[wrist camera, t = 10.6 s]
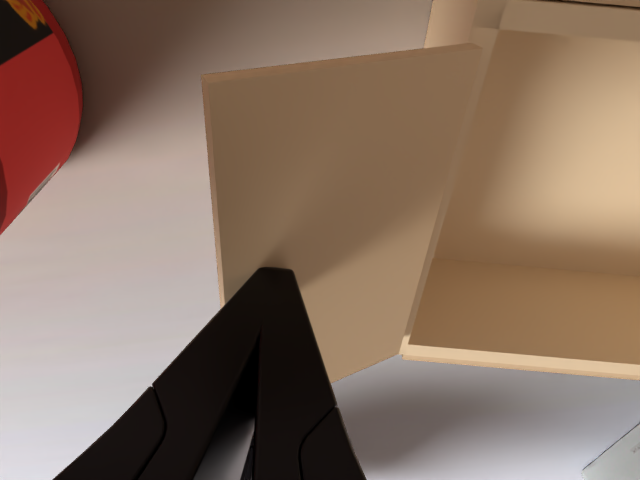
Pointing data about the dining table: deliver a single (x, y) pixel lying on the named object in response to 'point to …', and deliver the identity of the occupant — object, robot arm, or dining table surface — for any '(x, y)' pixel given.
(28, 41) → the canned food
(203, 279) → the dining table surface
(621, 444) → the supplement box
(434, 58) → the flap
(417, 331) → the carton
